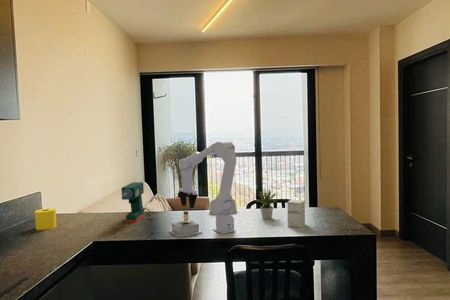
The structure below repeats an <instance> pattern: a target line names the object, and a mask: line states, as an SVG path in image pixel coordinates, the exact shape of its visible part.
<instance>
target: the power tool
mask: <svg viewBox="0 0 450 300" xmlns="http://www.w3.org/2000/svg"><path fill="white" fill-rule="evenodd" d="M144 189H145V188H144V182H142V181H140V182H131V183H129V184H126V185H124V186H122V187H121V200H122V201H123V200H125V201H126V200H128V204H130V210H131V211H130V212H128V213H127V214H126V215H125V218H126V219H125V220H124V222H125V223H137V222H139V220H140V218H141V219H142V218H143V217H144V216H145V214H146V213H145V211H144V206H143V198H142V195H143V194H144V193H145V190H144Z"/></svg>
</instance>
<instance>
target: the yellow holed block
mask: <svg viewBox="0 0 450 300" xmlns="http://www.w3.org/2000/svg"><path fill="white" fill-rule="evenodd" d="M56 211H57V210H56V208H53V207H51V208H41V209H37V210H35V211H34V215H35V216H34V218H35V230H37V231H44V230H52V229H54V228H56V227H57V213H56Z"/></svg>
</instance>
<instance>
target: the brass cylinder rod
mask: <svg viewBox="0 0 450 300" xmlns="http://www.w3.org/2000/svg"><path fill="white" fill-rule="evenodd" d="M187 220H190V219H189V211H188V210H184V211H183V221H187Z"/></svg>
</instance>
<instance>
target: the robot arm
mask: <svg viewBox="0 0 450 300" xmlns="http://www.w3.org/2000/svg"><path fill="white" fill-rule="evenodd" d="M235 150H236V146H235V145H234V143H233V142H232V141H230V140H227V141H216V142H214V143H212V144H211V145H209V146H207V147H206V148H205V149H203V150H202V151H200V152H199V151H193V152H192V154H191V155H188V156H186V157H185V158H181V159H180V160H179V162H178V167H179V169H180V177H181V187H180V188H178V193H177V196H178V197H179V199H180V203H181V206H182V207H185V206H187V200H188V203H189V208H190V209H193V208H195V204H196V201H197V198H198V196H199V195H198V192H197V190H196V189H195V188H194V184H193V183H194V181H193V171H194V168H195V166H197V165H198V164H200V163H202V162H203V160H204V158H206V157H208V156H210V155H213V154H216V155H217V157H219V158H220V159H221V160H222V161H223V162H224V164H223V165H224V166H223V170H222V175H221V182H220V186H219V192H218V194H217V195H216V197H215V198H214V200H215V201H214V203H213V205H212V207H213V210H214V212H215V214H214V215H215V228H212V231H215V232H217V233H219V234H221V235H224V234H229V233H234V232H236V231H237V230H236V229H235V219H234V216H233V215H232V213H230V211H231V208H232V206H233V203H232V199H233V196H232V195H231V191H232V186H233V180H234V176H235V171H236V170H235V169H236V166H237V165H236V164H237V155H236V151H235Z"/></svg>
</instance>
